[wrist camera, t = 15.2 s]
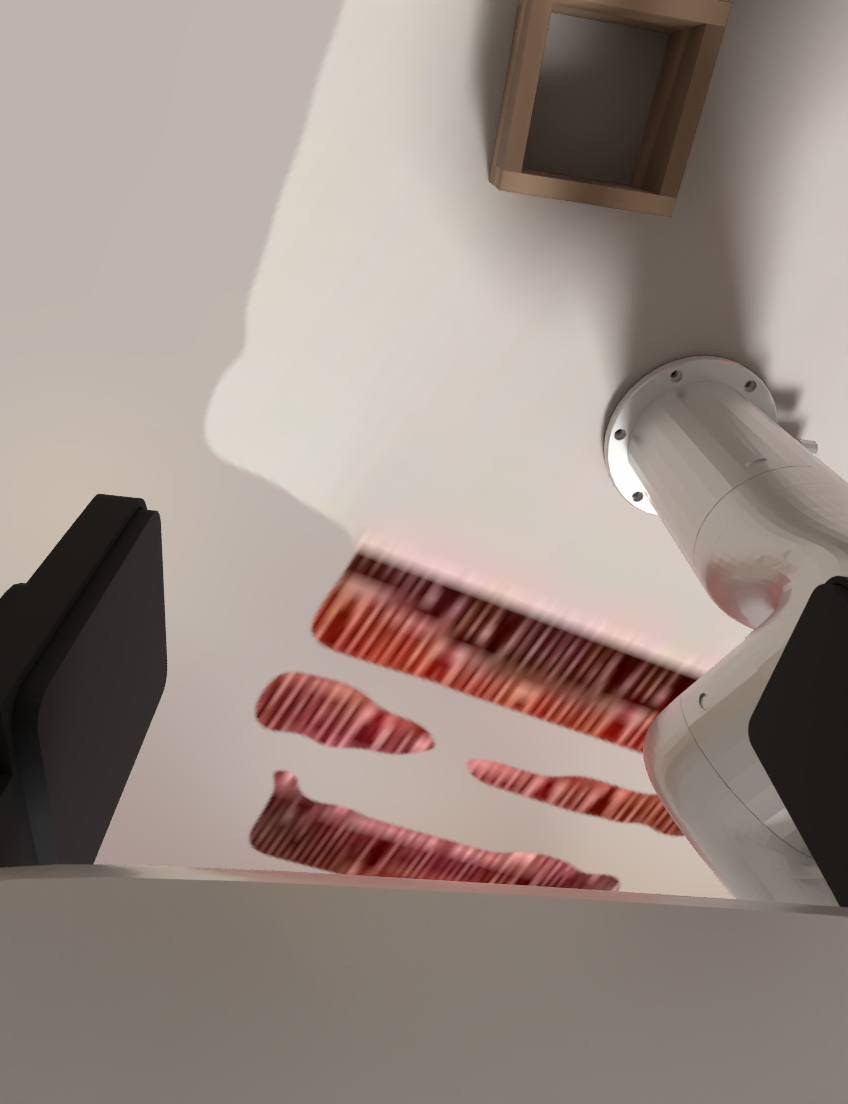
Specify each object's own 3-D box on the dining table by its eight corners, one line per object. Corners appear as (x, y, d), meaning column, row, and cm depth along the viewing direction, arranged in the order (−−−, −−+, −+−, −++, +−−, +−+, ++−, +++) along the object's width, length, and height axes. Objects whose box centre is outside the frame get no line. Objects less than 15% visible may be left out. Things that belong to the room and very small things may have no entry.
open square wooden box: (692, 15, 43) (732, 2, 37) (641, 205, 48) (670, 217, 42) (521, -16, 42) (538, -34, 36) (488, 181, 47) (499, 190, 41)
